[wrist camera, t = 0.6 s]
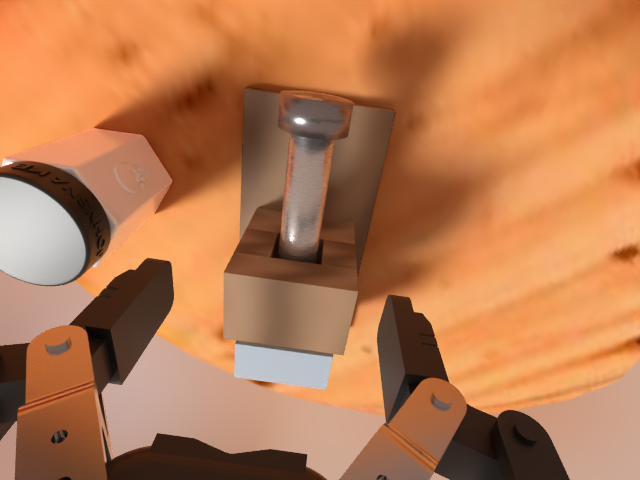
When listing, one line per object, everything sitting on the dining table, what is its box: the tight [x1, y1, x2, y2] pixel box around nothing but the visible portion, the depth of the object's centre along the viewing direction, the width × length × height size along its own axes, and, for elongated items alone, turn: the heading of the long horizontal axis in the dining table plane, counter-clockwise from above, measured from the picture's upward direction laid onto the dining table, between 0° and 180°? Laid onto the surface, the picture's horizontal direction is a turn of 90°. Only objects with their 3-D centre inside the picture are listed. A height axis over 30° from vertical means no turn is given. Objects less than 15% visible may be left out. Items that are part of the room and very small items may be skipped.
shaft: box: [278, 90, 354, 264], centre depth 28 cm, size 24×5×5 cm, turn 172°
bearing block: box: [224, 87, 396, 355], centre depth 29 cm, size 12×24×12 cm, turn 172°
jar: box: [0, 128, 172, 286], centre depth 27 cm, size 9×8×12 cm
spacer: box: [234, 340, 333, 390], centre depth 33 cm, size 8×4×8 cm, turn 82°
